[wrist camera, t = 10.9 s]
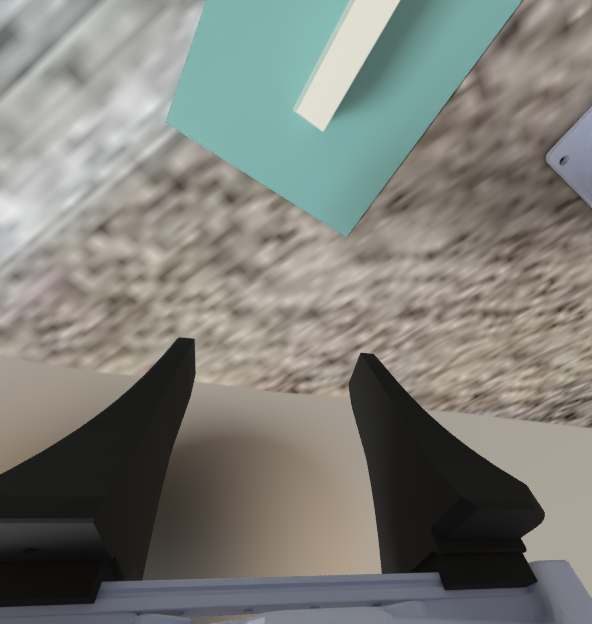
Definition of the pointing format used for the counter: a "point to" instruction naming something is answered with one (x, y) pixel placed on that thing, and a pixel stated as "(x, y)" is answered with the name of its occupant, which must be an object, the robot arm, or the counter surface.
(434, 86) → the lid
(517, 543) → the robot arm
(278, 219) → the counter surface
